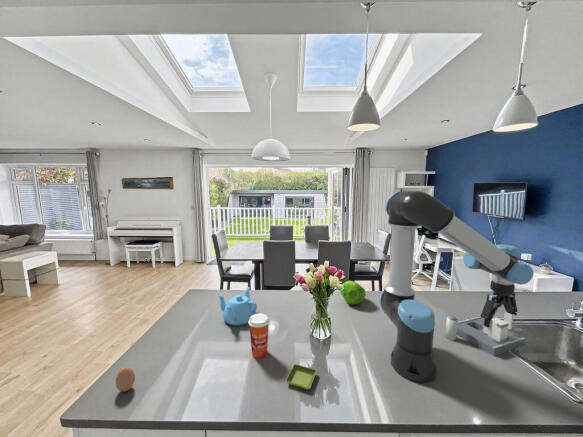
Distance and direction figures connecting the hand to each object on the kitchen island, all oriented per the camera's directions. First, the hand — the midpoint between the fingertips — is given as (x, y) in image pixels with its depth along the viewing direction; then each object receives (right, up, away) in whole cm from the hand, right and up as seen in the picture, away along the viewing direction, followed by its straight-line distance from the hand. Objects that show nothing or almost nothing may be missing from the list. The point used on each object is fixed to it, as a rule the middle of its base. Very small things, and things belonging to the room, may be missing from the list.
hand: (497, 330), depth 102 cm
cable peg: (-17, -5, +4) cm, 18 cm away
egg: (-142, -9, -23) cm, 144 cm away
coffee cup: (-100, -7, -6) cm, 101 cm away
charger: (0, -6, +1) cm, 6 cm away
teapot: (-115, -3, +21) cm, 117 cm away
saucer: (-84, -9, -19) cm, 87 cm away
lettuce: (-52, -1, +40) cm, 66 cm away
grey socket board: (-1, -5, +4) cm, 7 cm away
